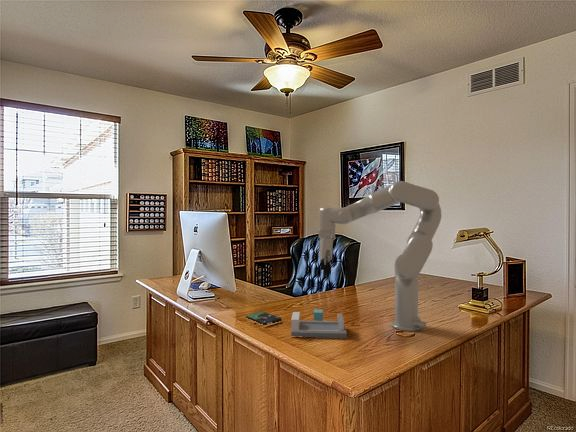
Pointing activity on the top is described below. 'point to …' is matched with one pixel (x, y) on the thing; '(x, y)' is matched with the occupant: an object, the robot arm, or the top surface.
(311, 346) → the top surface
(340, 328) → the block
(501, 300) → the top surface
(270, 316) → the disk drive
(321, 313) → the teal block
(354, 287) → the top surface
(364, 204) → the robot arm
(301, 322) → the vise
